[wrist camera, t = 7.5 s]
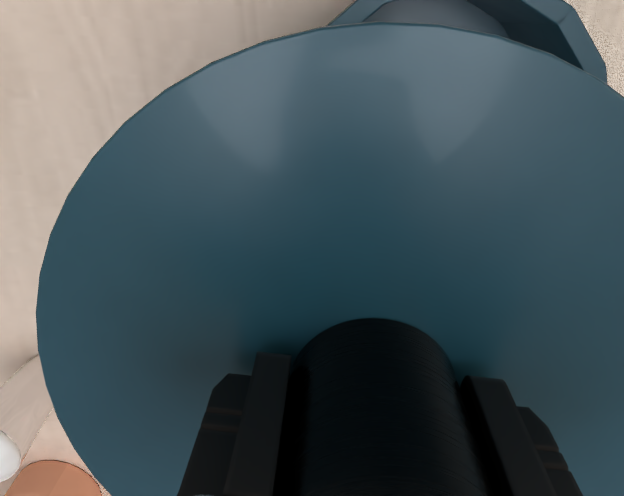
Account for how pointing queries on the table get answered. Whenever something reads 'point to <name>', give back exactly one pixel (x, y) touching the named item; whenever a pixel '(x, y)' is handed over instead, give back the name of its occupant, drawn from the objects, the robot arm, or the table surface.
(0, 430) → the milkshake
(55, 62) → the table surface
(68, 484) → the pepper shaker
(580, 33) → the pot
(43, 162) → the table surface
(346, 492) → the lid
